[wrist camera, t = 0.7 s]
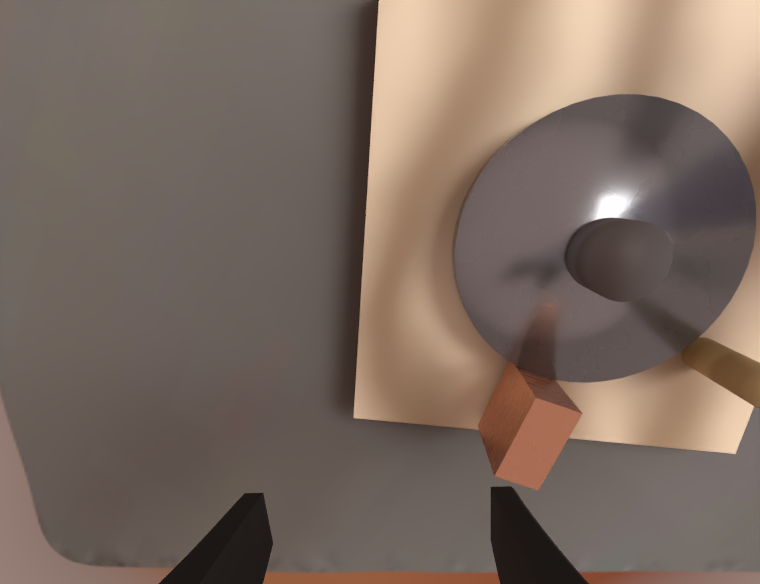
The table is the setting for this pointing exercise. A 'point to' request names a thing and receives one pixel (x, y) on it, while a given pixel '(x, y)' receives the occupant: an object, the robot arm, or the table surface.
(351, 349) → the table surface
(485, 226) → the flange
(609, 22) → the base plate
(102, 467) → the table surface
